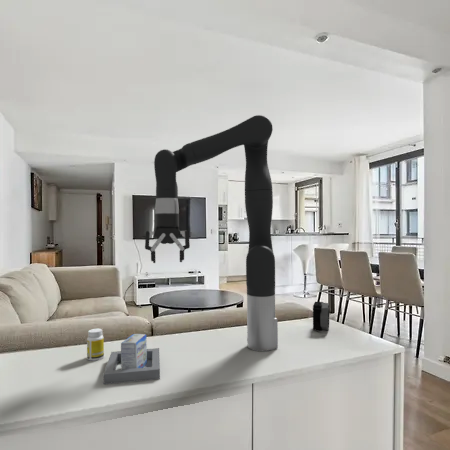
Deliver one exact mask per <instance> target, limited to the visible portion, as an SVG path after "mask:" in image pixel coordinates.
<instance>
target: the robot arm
mask: <svg viewBox="0 0 450 450" xmlns="http://www.w3.org/2000/svg"><path fill="white" fill-rule="evenodd" d="M272 134H273V123H272V122H271V120H270V118H268V117H267V116H265V115H262V114H257V115H253V116H251V117H249V118H248V119H246V120H243V121H241V122H240V123H238V124H236V125H234V126H233V127H230V128H227V129H225V130H223V131H221V132H218V133H215V134H212V135H209V136H206V137H204V138H200V139H197V140H194V141H192V142H189V143H185V144H183V146H182V147H181V148H180V149H176V150H173V151H171V150H169V149H165V148H164V149H160V150H159V151H158V152H157V153H156V154H155V155H154V161H153V162H154V163H153V164H154V166H153V167H154V175H155V184H156V186H155V205H154V207H155V208H154V212H155V215H154V217H155V219H154V220H155V230H154V231H153V230H151V231H149V230H146V231H145V240H144V242H145V244H144V249H145V250H147V251H150V261H151V262H153V264H156V249H157V248H158V246H159V245H160V244H163V245H166V244H169V245H173V244H174V243H175V245H176V246H177V247H178V249H179V262H180V263H183V261H185V250H188V249H190V243H191V242H190V233H189V230H187V229H186V230H180V214H179V213H180V209H179V207H180V206H179V199H178V198H179V189H178V183H177V172H180V171H182V170H184V169H186V168H188V167H189V166H193V165H196V164H200V163H203V162H205V161H208V160H209V161H210V160H211V159H214V158H215V157H218V156H219V155H221V154H223V153H226V152H227V151H229V150H231V149H232V150H233V149H234V148H237V147H240V146H243V147H244V156H245V157H244V158H245V172H244V173H245V175H244V205H245V206H244V207H245V214H246V220H247V225H248V233H249V235H248V236H249V238H248V251H247V254H246V257H245V271H246V272H245V276H246V277H245V278H246V279H245V280H246V282H245V284H246V318H247V319H246V322H247V325H246V329H247V330H246V331H247V332H246V333H247V337H246V338H247V339H246V341H247V348H248V349H250V350H252V351H255V352H256V351H257V352H269V351H273V350H274V349H278V346H279V343H278V342H279V339H278V338H279V336H278V331H279V330H278V329H279V328H278V322H279V321H278V318H277V317H276V258H275V257H276V256H275V254H274V250H273V249H274V248H273V244H272V242H273V241H272V236H271V235H272V230H271V228H272V227H271V226H272V220H273V218H272V217H273V205H274V202H273V200H274V198H273V197H274V195H273V183H272V178H271V174H270V169H269V165H268V145H269V140H270V138H271V136H272ZM153 235H154V237H155V238H156V239H157V240H156V241H155V242H154V244H153V245H152V246H151V245H150V239H151V238H153ZM181 235H182V237H183V238H184V244H185V245H183V244H182V243H181V242H180V241H179V239H178V238H179V237H180V236H181Z"/></svg>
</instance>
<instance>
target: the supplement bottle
mask: <svg viewBox="0 0 450 450" xmlns="http://www.w3.org/2000/svg"><path fill="white" fill-rule="evenodd" d="M87 335H88V336H87V338H86V355H87V357H86V359H87V360H88V361H94V362H95V361H99V360H101V359H103V358H105V356H104V355H105V349H104V348H105V347H104V346H105V344H104V343H105V342H104V341H105V340H104V335H103V329H102V328H92V329H89V330H88V332H87Z"/></svg>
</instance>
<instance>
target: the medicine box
mask: <svg viewBox="0 0 450 450" xmlns="http://www.w3.org/2000/svg"><path fill="white" fill-rule="evenodd" d="M147 345H148V344H147V334H145V333H144V334H143V333H134V334H131V335H130V336H128V337H127V338H126V339H125V340H123V341H122V342H121V343H120V351H121V362H120V364H121V366H120V370H123V369H134V368H145V366H146V365H147V363H148V362H147V361H148V360H147V349H148V348H147Z"/></svg>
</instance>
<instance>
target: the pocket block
mask: <svg viewBox="0 0 450 450" xmlns="http://www.w3.org/2000/svg"><path fill="white" fill-rule="evenodd" d="M148 360H151V362H152V363H151V366H148V367H147V366H146V367H145V366H144V367H143V368H134V369H123V370H121V369H117V367H118V363H121V350H116V351H111V352H110V354H109V357H108V361H107V363H106V365H105V368H104V369H105V370H104V372H103V375H102V376H103V381H102V383H103V385H108V384H110V385H111V384H119V383H120V384H121V383H122V384H123V383H131V382H140V381H151V380H160V378H161V369H160V368H161V365H160V364H161V363H160V362H161V361H160V360H161V359H160V348H159V347H157V348H155V347H154V348H147V361H148Z"/></svg>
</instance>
